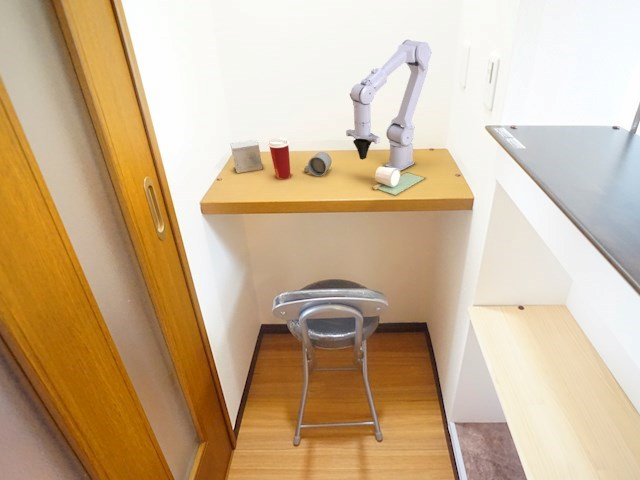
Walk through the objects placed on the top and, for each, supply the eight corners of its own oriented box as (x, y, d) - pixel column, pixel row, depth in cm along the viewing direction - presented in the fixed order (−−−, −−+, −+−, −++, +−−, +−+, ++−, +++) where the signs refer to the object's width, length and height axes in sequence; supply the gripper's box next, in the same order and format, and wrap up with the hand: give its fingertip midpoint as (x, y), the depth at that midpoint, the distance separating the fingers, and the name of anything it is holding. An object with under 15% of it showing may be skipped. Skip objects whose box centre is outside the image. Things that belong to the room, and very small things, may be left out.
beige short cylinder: (378, 187, 147) (394, 191, 143) (371, 176, 142) (387, 180, 138) (387, 172, 149) (403, 176, 145) (380, 160, 143) (396, 164, 139)
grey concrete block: (237, 173, 158) (231, 148, 152) (235, 168, 163) (229, 142, 157) (263, 169, 161) (258, 144, 155) (260, 163, 166) (256, 139, 160)
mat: (406, 173, 153) (406, 172, 153) (424, 178, 149) (424, 177, 149) (377, 189, 143) (377, 188, 143) (394, 195, 139) (394, 194, 138)
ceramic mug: (333, 168, 159) (331, 150, 155) (327, 177, 153) (325, 157, 148) (308, 167, 162) (306, 148, 157) (301, 175, 155) (298, 156, 151)
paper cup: (296, 173, 156) (292, 138, 148) (286, 181, 151) (281, 145, 143) (280, 171, 159) (275, 136, 151) (269, 178, 154) (263, 142, 145)
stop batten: (393, 178, 150) (393, 175, 149) (395, 179, 149) (395, 176, 149) (372, 189, 143) (372, 186, 143) (375, 190, 142) (375, 187, 142)
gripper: (339, 120, 142) (341, 157, 150) (370, 128, 133) (371, 166, 141) (353, 115, 146) (354, 151, 154) (383, 122, 137) (383, 160, 146)
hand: (363, 158), depth 148 cm, fingers closed
